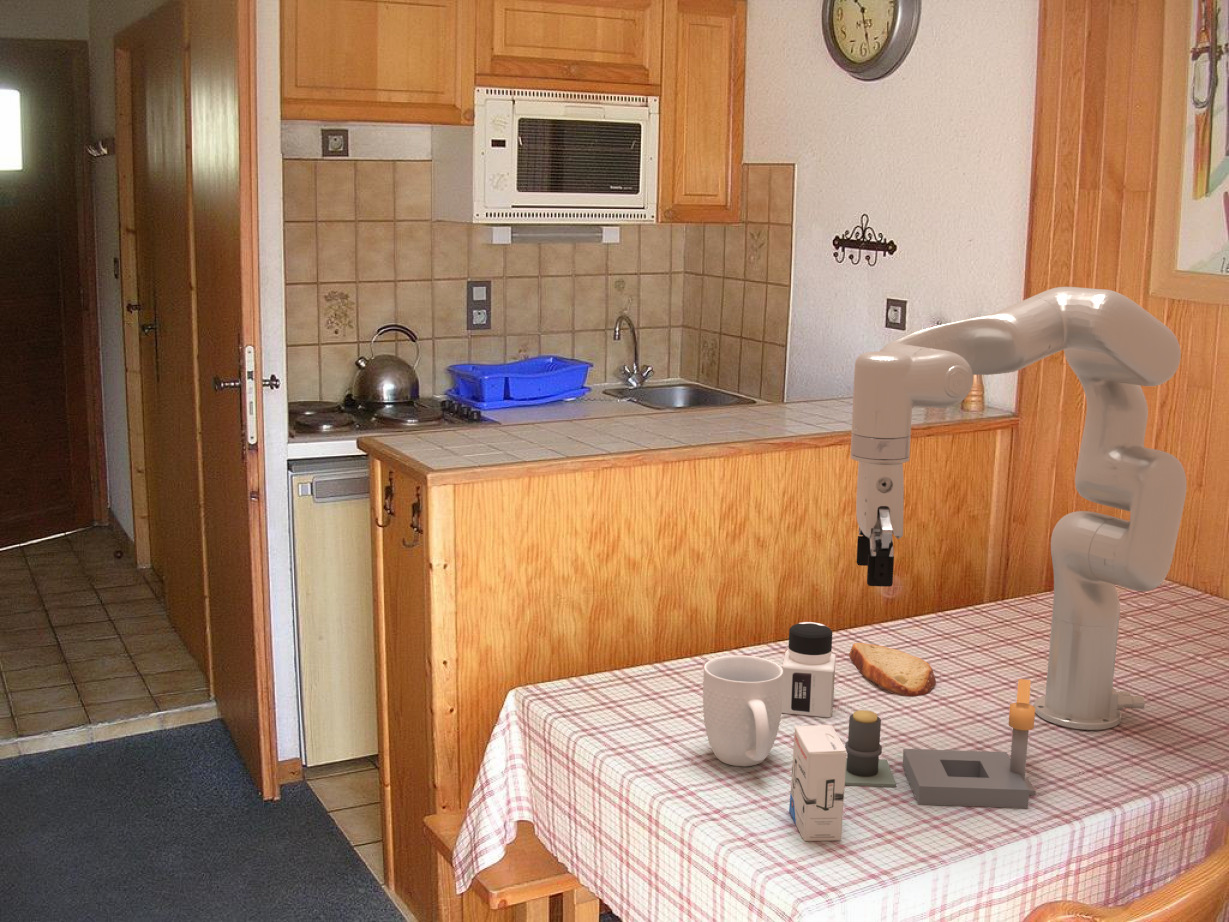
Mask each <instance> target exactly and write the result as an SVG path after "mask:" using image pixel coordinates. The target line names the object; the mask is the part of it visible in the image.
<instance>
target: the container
mask: <svg viewBox="0 0 1229 922" xmlns="http://www.w3.org/2000/svg"><path fill="white" fill-rule="evenodd" d="M787 646H788V647H787V648H788V649H787V650H785V653H784V658H783V663H782V666H781V668H782V670H783V698H782V712H781V714H787V715H800V716H809V717H819V718H831V717H832V716H833V715H832V714H833V705H834V698H835V696H834V695H835V679H836V678H835V676H836V659H837V656H836V654H835V653H832V649H833V631H832V629H831V628H830V627H828V626H827V625H825V624H823V623H820V622H819V623H818V622H812V621H804V622H803V621H802V622H799V623H796V624H793V625H791V626H790V627H789V630H788V645H787Z"/></svg>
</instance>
